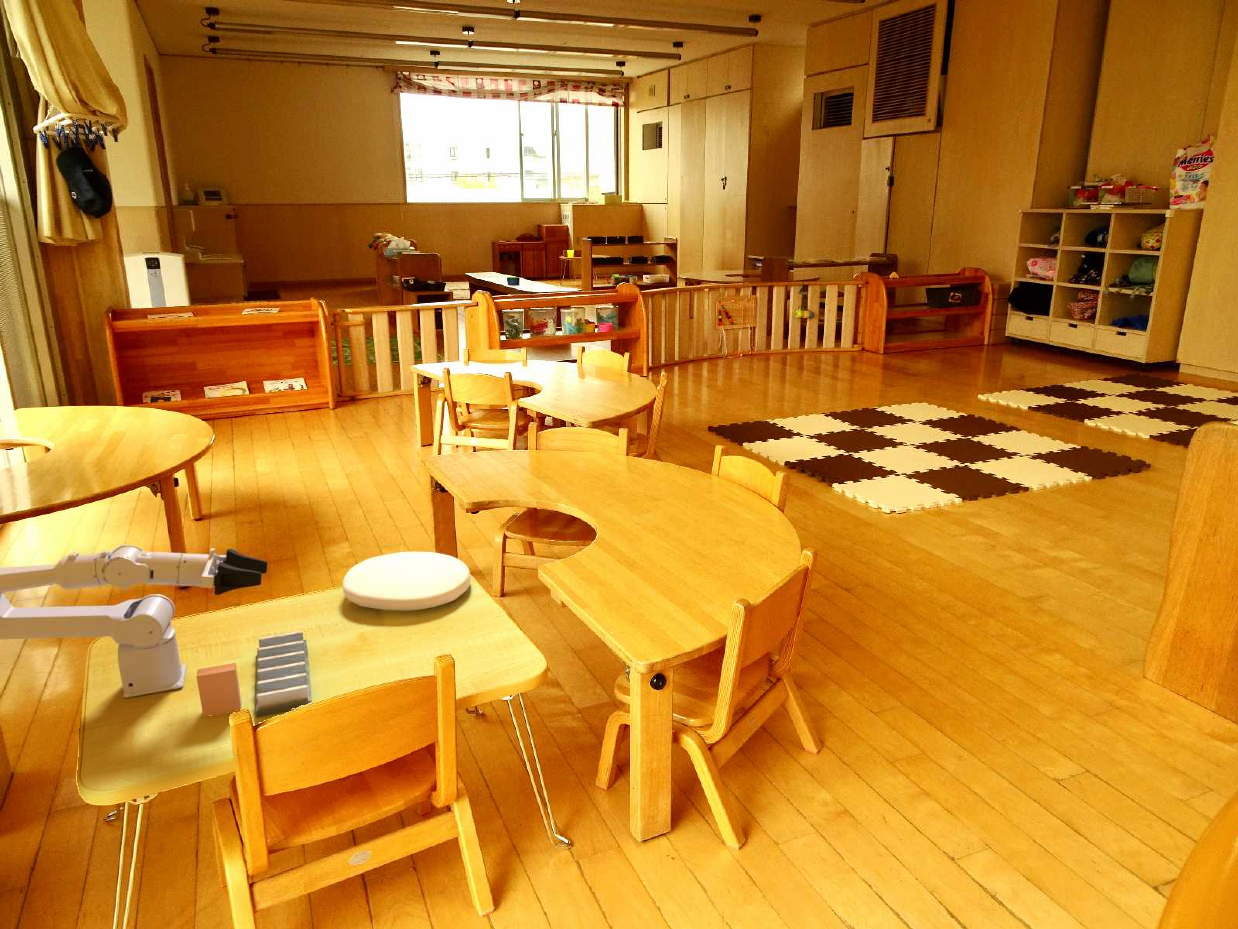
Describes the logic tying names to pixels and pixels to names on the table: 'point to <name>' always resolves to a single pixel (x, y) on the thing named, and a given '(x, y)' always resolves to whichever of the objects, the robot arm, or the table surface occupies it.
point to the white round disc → (406, 581)
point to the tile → (219, 689)
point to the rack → (282, 673)
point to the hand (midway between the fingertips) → (264, 573)
